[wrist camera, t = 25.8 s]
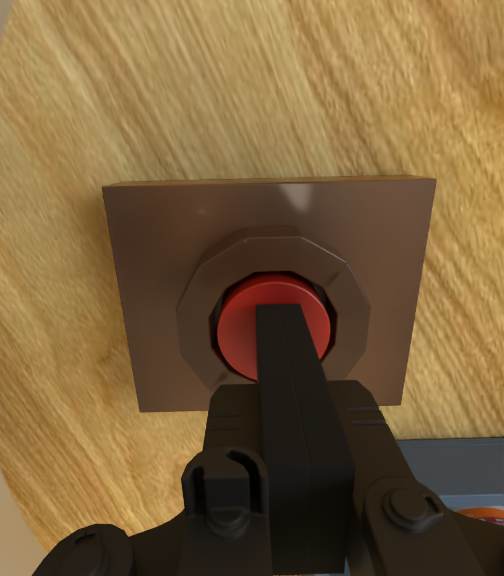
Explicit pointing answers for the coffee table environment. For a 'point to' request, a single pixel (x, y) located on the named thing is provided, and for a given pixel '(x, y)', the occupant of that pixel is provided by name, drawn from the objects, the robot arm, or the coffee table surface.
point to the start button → (242, 315)
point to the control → (260, 258)
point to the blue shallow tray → (456, 471)
